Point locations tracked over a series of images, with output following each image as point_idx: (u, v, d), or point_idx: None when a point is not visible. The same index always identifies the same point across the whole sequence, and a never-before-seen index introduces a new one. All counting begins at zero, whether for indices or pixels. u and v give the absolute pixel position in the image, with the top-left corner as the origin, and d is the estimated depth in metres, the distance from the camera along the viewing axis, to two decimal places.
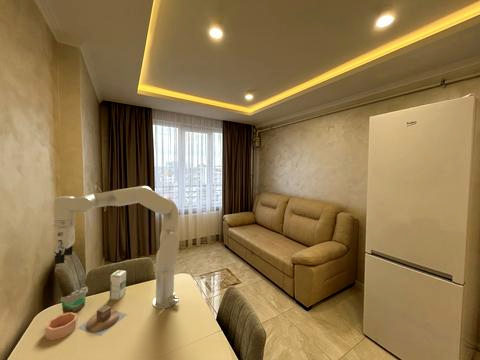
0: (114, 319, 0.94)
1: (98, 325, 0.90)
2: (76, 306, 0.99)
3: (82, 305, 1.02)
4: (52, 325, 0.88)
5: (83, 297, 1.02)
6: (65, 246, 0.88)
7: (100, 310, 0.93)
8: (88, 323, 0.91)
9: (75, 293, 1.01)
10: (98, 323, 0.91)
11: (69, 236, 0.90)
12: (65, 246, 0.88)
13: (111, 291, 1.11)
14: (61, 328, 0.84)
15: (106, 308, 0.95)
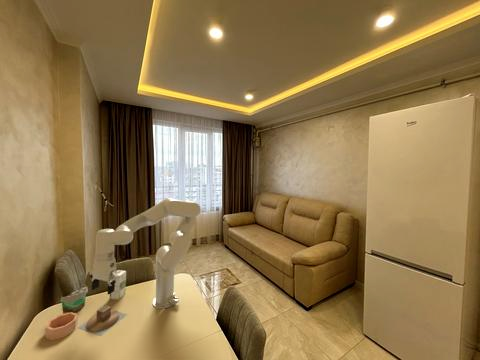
0: (114, 319, 0.94)
1: (98, 325, 0.90)
2: (76, 306, 0.99)
3: (82, 305, 1.02)
4: (52, 325, 0.88)
5: (83, 297, 1.02)
6: None
7: (100, 310, 0.93)
8: (88, 323, 0.91)
9: (75, 293, 1.01)
10: (98, 323, 0.91)
11: None
12: None
13: None
14: (61, 328, 0.84)
15: (106, 308, 0.95)
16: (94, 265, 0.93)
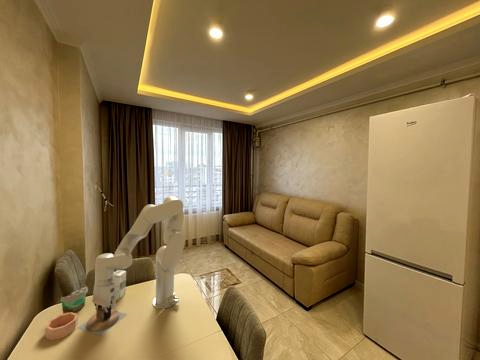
0: (114, 319, 0.94)
1: (98, 325, 0.90)
2: (76, 306, 0.99)
3: (82, 305, 1.02)
4: (52, 325, 0.88)
5: (83, 297, 1.02)
6: None
7: (100, 310, 0.93)
8: (88, 323, 0.91)
9: (75, 293, 1.01)
10: (98, 323, 0.91)
11: None
12: (115, 299, 0.95)
13: None
14: (61, 328, 0.84)
15: None
16: (94, 290, 0.93)
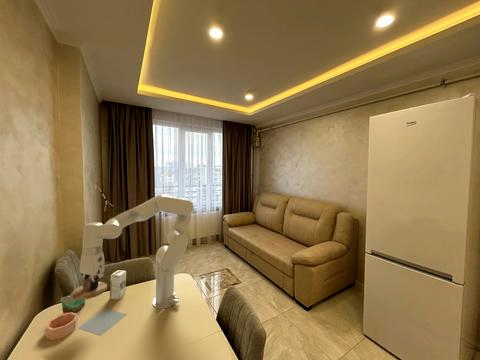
0: (101, 290, 0.92)
1: (84, 294, 0.88)
2: (76, 306, 0.99)
3: (82, 305, 1.02)
4: (52, 325, 0.88)
5: None
6: (103, 270, 0.92)
7: (87, 280, 0.90)
8: (74, 292, 0.88)
9: None
10: (84, 292, 0.89)
11: None
12: (103, 270, 0.92)
13: (111, 291, 1.11)
14: (61, 328, 0.84)
15: None
16: (81, 259, 0.90)
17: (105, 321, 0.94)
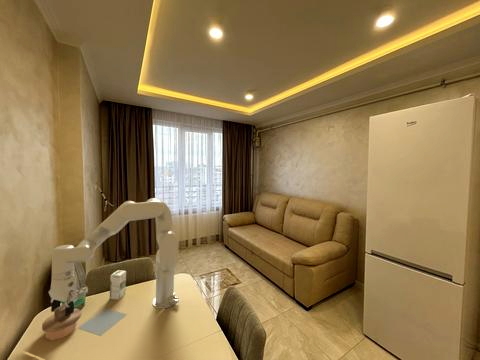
0: (74, 319, 0.88)
1: (54, 325, 0.84)
2: (76, 306, 0.99)
3: (82, 305, 1.02)
4: None
5: (83, 297, 1.02)
6: (75, 294, 0.88)
7: (58, 309, 0.87)
8: (44, 323, 0.85)
9: None
10: (55, 323, 0.85)
11: None
12: (75, 294, 0.88)
13: (111, 291, 1.11)
14: None
15: None
16: (51, 284, 0.86)
17: (105, 321, 0.94)
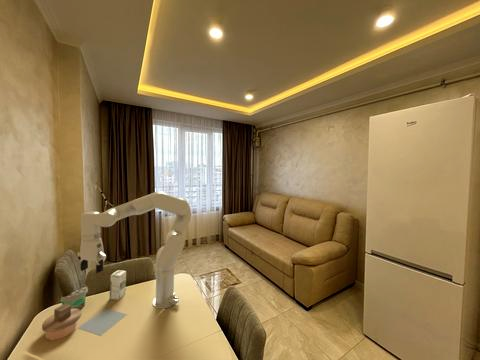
0: (74, 319, 0.88)
1: (54, 325, 0.84)
2: (76, 306, 0.99)
3: (82, 305, 1.02)
4: None
5: (83, 297, 1.02)
6: None
7: (58, 309, 0.87)
8: (44, 323, 0.85)
9: (75, 293, 1.01)
10: (55, 323, 0.85)
11: None
12: None
13: (111, 291, 1.11)
14: None
15: (65, 307, 0.88)
16: (81, 246, 0.96)
17: (105, 321, 0.94)
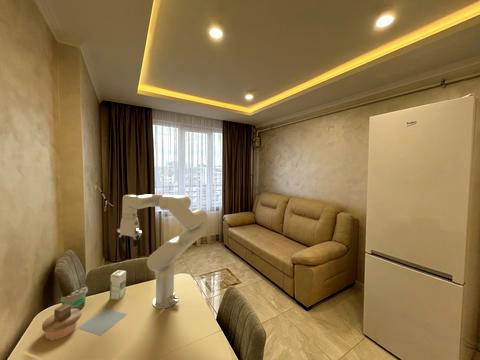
0: (74, 319, 0.88)
1: (54, 325, 0.84)
2: (76, 306, 0.99)
3: (82, 305, 1.02)
4: None
5: (83, 297, 1.02)
6: None
7: (58, 309, 0.87)
8: (44, 323, 0.85)
9: (75, 293, 1.01)
10: (55, 323, 0.85)
11: None
12: None
13: (111, 291, 1.11)
14: None
15: (65, 307, 0.88)
16: (121, 223, 1.13)
17: (105, 321, 0.94)
